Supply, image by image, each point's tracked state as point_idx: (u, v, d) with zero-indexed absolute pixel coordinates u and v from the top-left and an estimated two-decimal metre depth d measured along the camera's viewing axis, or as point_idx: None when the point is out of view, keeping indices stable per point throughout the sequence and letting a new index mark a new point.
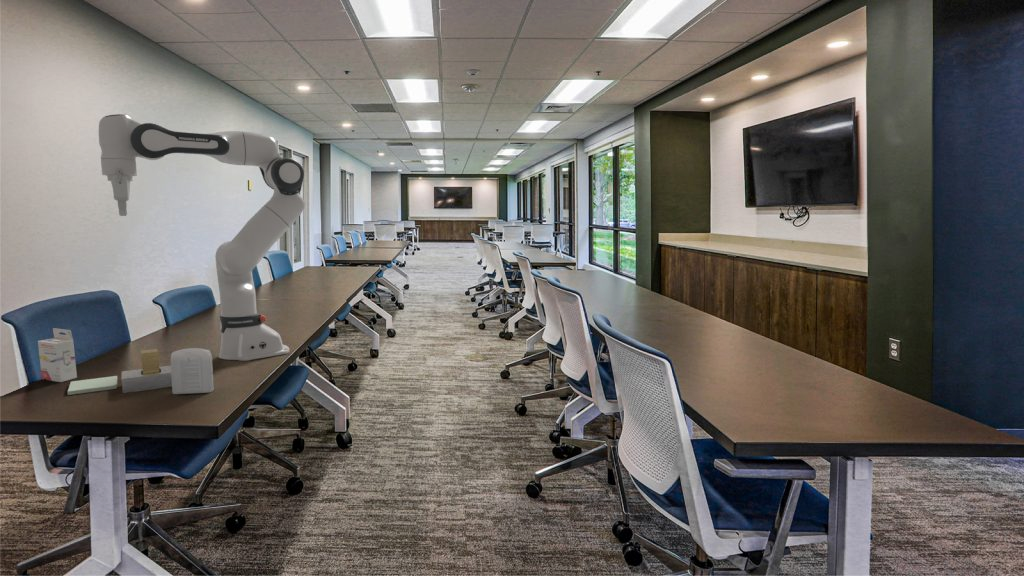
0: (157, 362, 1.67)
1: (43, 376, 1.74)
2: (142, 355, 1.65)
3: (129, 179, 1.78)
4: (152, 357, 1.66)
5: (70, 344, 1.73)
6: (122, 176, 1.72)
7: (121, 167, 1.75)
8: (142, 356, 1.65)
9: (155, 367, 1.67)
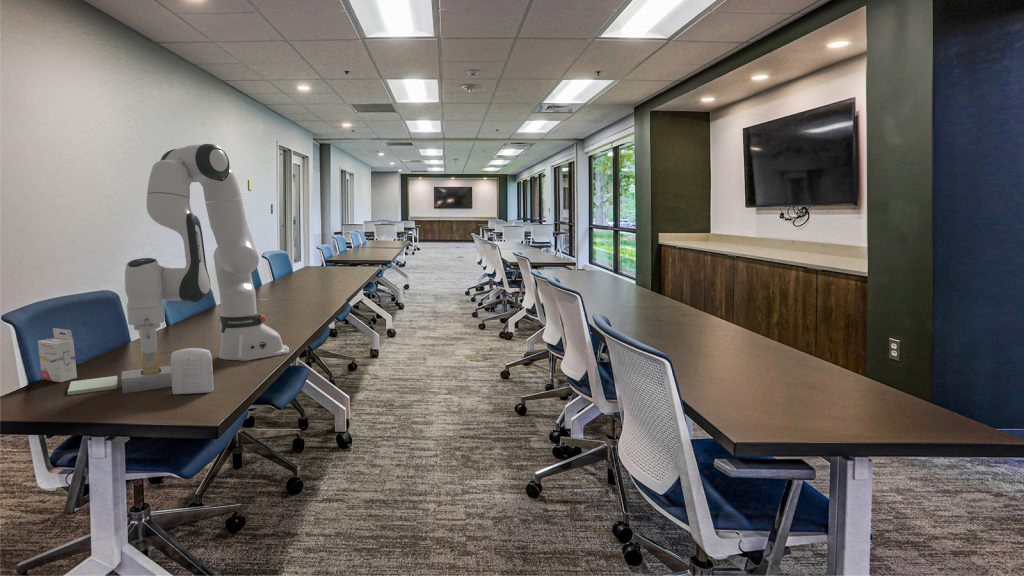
0: (157, 362, 1.67)
1: (43, 376, 1.74)
2: (142, 355, 1.65)
3: (157, 326, 1.66)
4: None
5: (70, 344, 1.73)
6: (151, 330, 1.59)
7: (149, 317, 1.63)
8: (142, 356, 1.65)
9: (155, 367, 1.67)
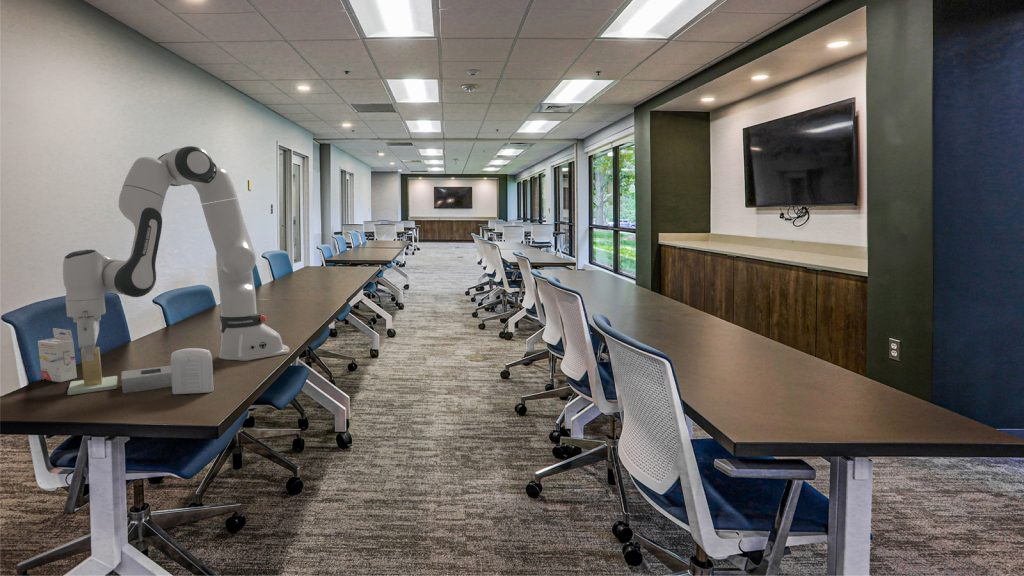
0: (98, 360, 1.65)
1: (43, 376, 1.74)
2: (82, 353, 1.63)
3: (97, 319, 1.64)
4: None
5: (70, 344, 1.73)
6: (88, 322, 1.57)
7: (87, 309, 1.61)
8: (82, 354, 1.63)
9: (96, 365, 1.65)
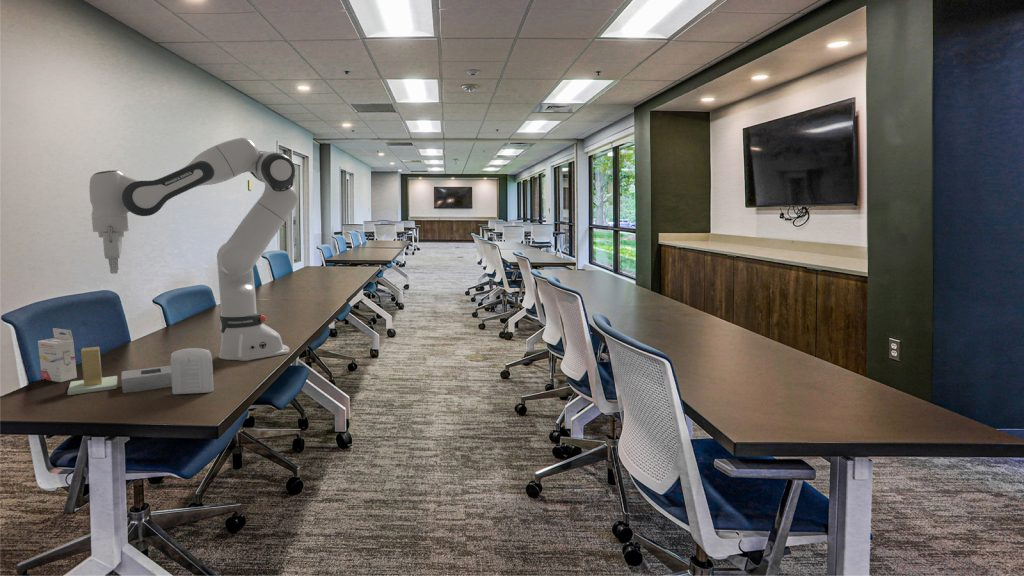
0: (98, 360, 1.65)
1: (43, 376, 1.74)
2: (82, 353, 1.63)
3: (120, 235, 1.76)
4: (92, 354, 1.64)
5: (70, 344, 1.73)
6: (113, 234, 1.69)
7: (112, 224, 1.72)
8: (82, 354, 1.63)
9: (96, 365, 1.65)
